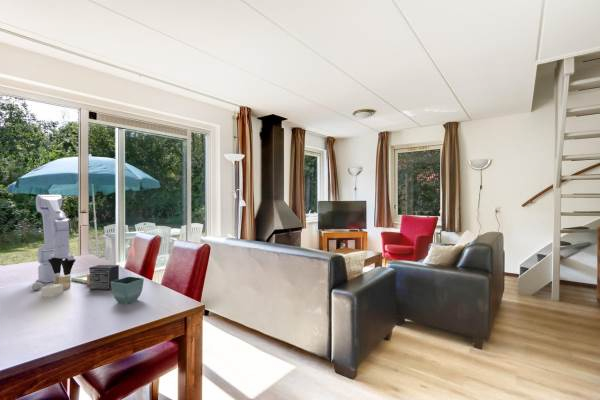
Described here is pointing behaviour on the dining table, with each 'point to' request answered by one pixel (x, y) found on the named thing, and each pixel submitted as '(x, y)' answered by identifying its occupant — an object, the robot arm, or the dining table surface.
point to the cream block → (52, 290)
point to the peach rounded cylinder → (88, 279)
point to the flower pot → (127, 289)
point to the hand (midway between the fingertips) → (62, 273)
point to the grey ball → (37, 286)
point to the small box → (103, 276)
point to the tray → (80, 278)
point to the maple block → (63, 280)
